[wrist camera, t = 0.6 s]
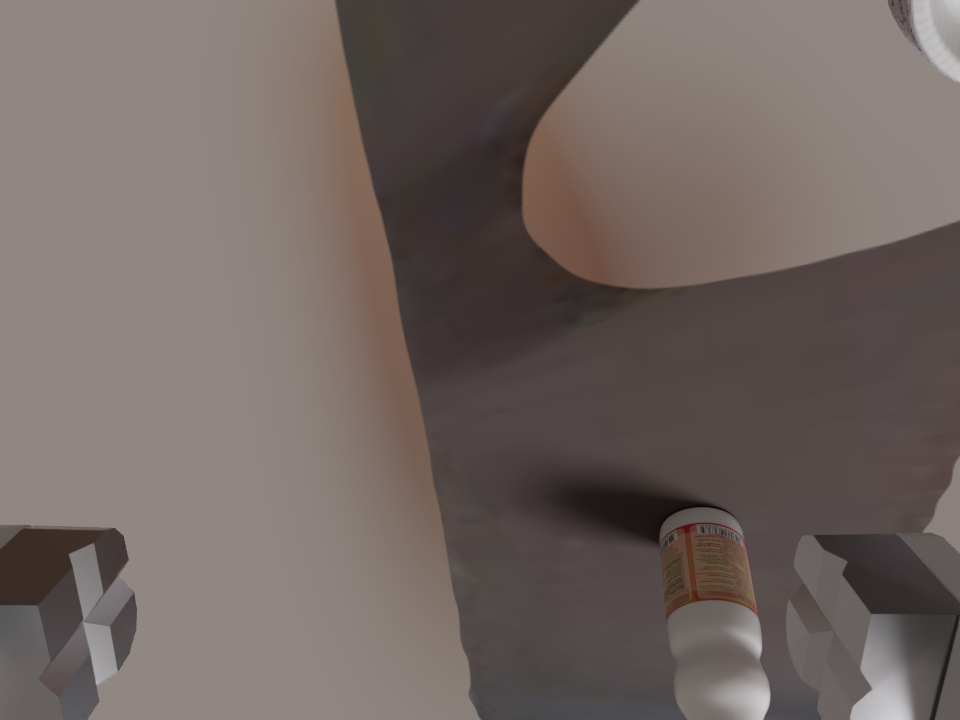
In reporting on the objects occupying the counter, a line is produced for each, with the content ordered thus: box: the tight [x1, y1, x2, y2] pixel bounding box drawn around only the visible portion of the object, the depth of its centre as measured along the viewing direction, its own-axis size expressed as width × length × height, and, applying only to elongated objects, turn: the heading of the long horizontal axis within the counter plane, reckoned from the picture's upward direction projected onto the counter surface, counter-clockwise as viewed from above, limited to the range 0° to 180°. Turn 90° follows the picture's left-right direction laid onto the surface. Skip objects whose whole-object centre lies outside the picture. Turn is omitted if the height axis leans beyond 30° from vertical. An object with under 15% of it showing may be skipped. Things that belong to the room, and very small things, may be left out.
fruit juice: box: [659, 507, 770, 720], centre depth 80 cm, size 9×9×28 cm
